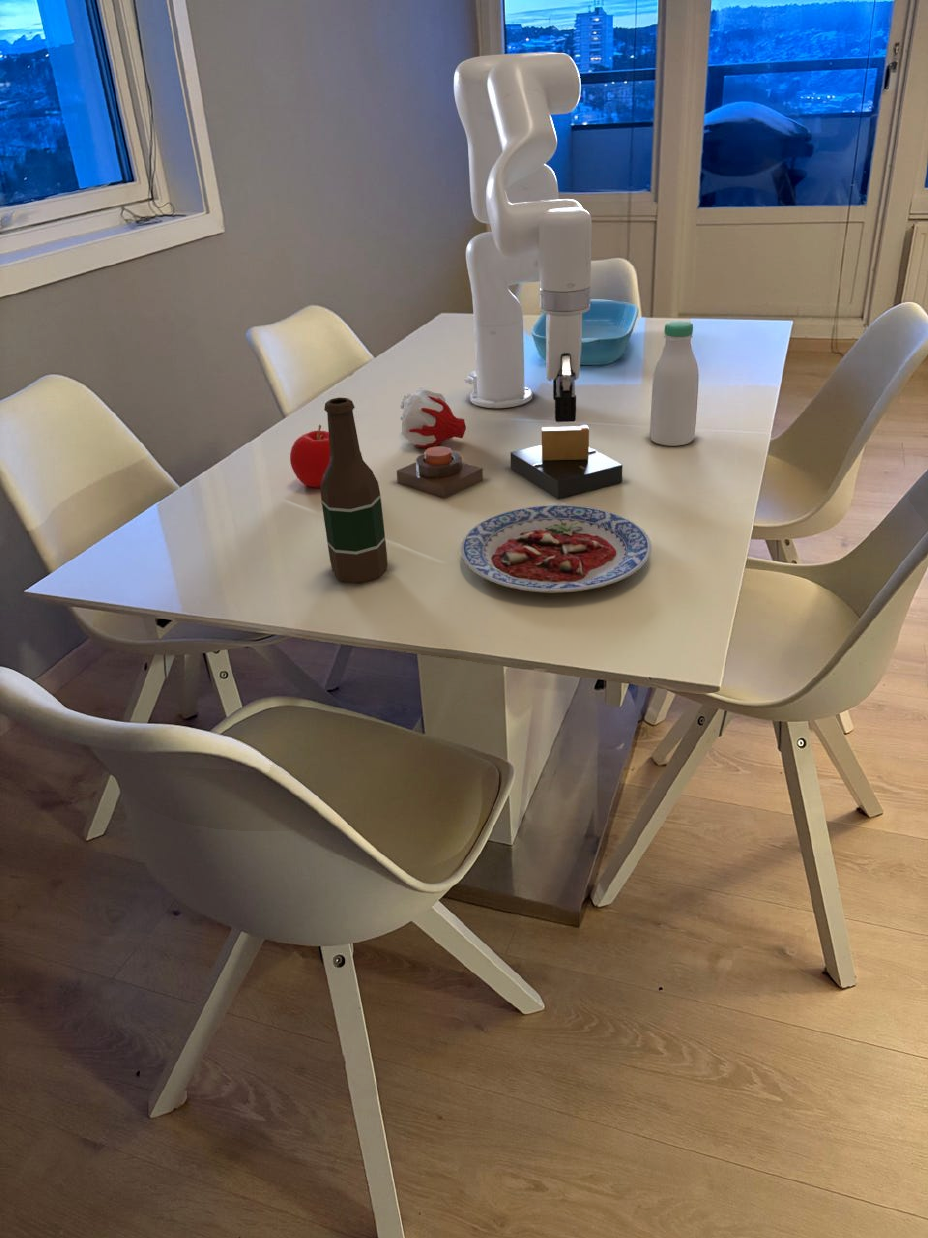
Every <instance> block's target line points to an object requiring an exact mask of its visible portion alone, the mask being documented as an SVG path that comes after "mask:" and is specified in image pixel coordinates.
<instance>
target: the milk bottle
mask: <svg viewBox="0 0 928 1238" xmlns="http://www.w3.org/2000/svg"><path fill="white" fill-rule="evenodd" d="M693 333H694V324H693V322H689V321H686V320H673V321H668V322H667V323H665V325H664V338H665V340H664V341H665V342H664V346H663V348H662V351H661V353H660V355H659V357H658V359H657V361H656V364H655V365H654V369H653V377H652V385H651V386H652V387H651V388H652V389H651V402H650V403H651V404H650V422H649V423H650V424H649V438H650V440H651V441H652V442H653V443H655V444H658V445H662V446H672V447H675V446H684V445H687V444H690V443H691V442H692V441H694V439H695V436H696V435H695V434H696V424H697V410H698V409H697V408H698V398H699V397H698V396H699V379H700V378H699V377H700V376H699V374H700V373H699V365H698V362H697V360H696V357H695V354H694V351H693V348H692V338H693Z"/></svg>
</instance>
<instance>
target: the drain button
mask: <svg viewBox="0 0 928 1238" xmlns="http://www.w3.org/2000/svg"><path fill="white" fill-rule="evenodd" d="M452 452H453V450H452V449H451V448H450V447H448V446H440V445H439V446H438V445H436V446H434V447H429V448H426V449H425V450H424V453H423V454H425V463H427V464H430V465H442V464H447V463H449V462H451V461H452Z"/></svg>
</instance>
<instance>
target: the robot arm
mask: <svg viewBox="0 0 928 1238" xmlns="http://www.w3.org/2000/svg"><path fill="white" fill-rule="evenodd" d="M454 71H455V72H454V75H453V94H454V100H455V105H456V110H457V112H458V116H459V118H460V121H461V124H462V126H463V129H464V132H465V136H466V141H467V150H468V151H467V152H468V153H467V154H468V155H467V156H468V170H469V171H468V173H469V191H470V206H471V210H472V214H473V216H474V218H475V220H477V221H478V222H480V223H481V224H487V225H488V224H489V225H490V231H486V232H482V233H479V234H477V235H475V236H474V237H472V238H471V239H470V240H469V241H468V243H467V245H466V247H465V263H466V268H467V274H468V278H469V284H470V291H471V299H472V300H471V301H472V312H473V330H474V351H475V367H476V368H475V370H476V371H473V370H472V371H470V372H468V374H467V376H466V377H465V378H464V383H465V384H467V385H472V386H473V388H472V389H473V390H472V391H471V392H470V393H469V401H470V403H472V404H473V405H475V406H478V407H481V408H487V409H507V408H513V407H519V406H522V405H526V404H527V403H529V402H530V401H531V400H532V399H533V391H532V390H531V388H529V387H528V386H525V353H524V352H525V349H524V344H525V343H524V311H523V306H522V305H521V302H520V301H519V299H518V298H517V296H516V295H514V293H512V292H511V289H510V286H512V285H513V286H514V285H518V284H526V283H527V284H528V283H529V284H530V283H539V311H540V312H541V314H542V313H545V314H547V316H546V361H545V373H546V380H547V381H549V382H553V383H552V393H553V394H552V397H553V398H552V399H553V400H554V422H556V423H567V422H569V423H571V422H574V423H575V422H576V420H577V395H576V385H575V384H576V381H577V380H578V379H579V378H580V369H581V365H580V358H581V338H582V313H585V312H587V311H589V310H590V300H591V288H592V287H591V285H592V283H591V281H592V242H593V241H592V237H593V236H592V235H593V234H592V232H593V221H592V216H591V214H590V212H589V211H587V210H586V209H584V208H583V206H582V205H581V203H580V202H578V201H577V200H576V199H570V198H565V199H563V198H562V199H560V198H559V197H560V196H559V186H558V185H559V184H558V180H557V176H556V175H555V171H553V168H551V166H550V165H548V164H547V163H548V162H549V161H550V160H551V159H552V158H553V156H554V155H555V152H556V150H557V145H558V138H557V134H556V130H555V127H554V123H553V119H552V116H551V115H553V116H554V115H565V114H566V115H567V114H570V113H572V112H573V111H574V110H575V109H576V107H577V106H578V104H579V101H580V98H581V90H582V88H581V87H582V86H581V78H580V77H581V76H580V73H579V69H578V67H577V65H576V63H575V61H574V59H573V58H572V57H571V56H570V55H569V54H567V53H564V52H554V51H553V52H552V51H539V52H522V53H503V54H502V53H501V54H487V55H480V56H474V57H471V58H468V59H465V60H462V62H460V63H459V64H458V65H457V66H456V68H455V70H454Z"/></svg>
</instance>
